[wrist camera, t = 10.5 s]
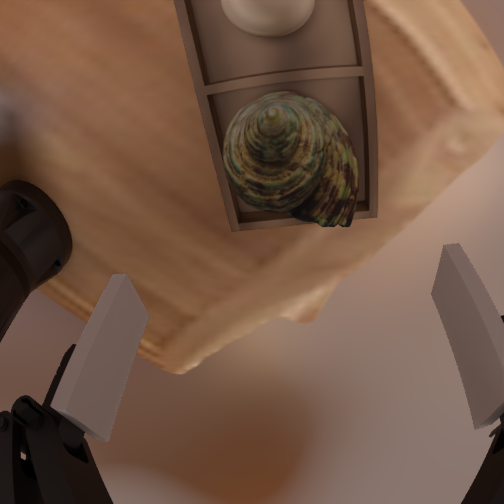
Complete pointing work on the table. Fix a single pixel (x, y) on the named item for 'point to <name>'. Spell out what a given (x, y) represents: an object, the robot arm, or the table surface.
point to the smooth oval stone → (268, 15)
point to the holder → (284, 86)
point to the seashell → (292, 159)
